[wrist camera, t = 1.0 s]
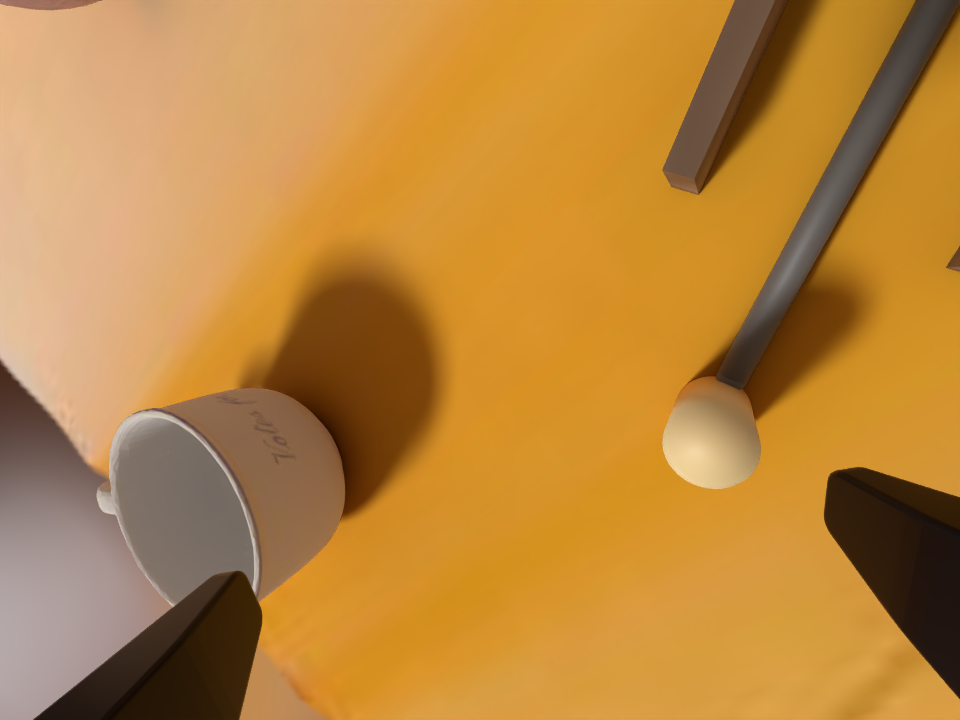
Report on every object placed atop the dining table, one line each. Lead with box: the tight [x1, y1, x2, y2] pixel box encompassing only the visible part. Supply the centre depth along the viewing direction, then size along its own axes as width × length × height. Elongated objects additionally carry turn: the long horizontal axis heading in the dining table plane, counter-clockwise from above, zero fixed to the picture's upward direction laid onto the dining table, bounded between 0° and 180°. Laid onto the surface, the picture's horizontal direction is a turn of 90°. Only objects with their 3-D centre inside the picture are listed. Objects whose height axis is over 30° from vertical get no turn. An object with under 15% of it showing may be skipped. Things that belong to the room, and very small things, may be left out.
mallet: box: [663, 0, 960, 489], centre depth 12 cm, size 6×24×6 cm, turn 160°
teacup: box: [97, 388, 345, 607], centre depth 26 cm, size 14×11×8 cm
